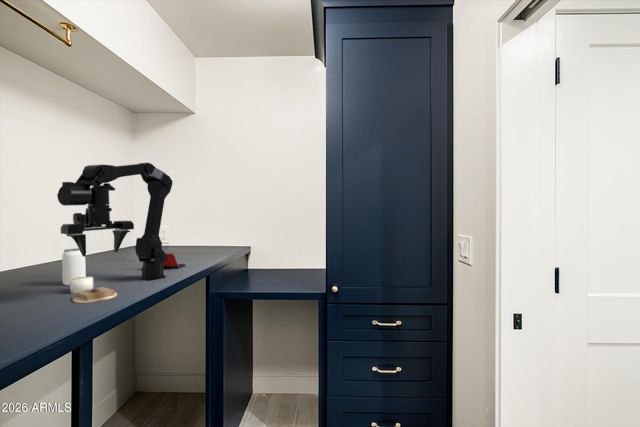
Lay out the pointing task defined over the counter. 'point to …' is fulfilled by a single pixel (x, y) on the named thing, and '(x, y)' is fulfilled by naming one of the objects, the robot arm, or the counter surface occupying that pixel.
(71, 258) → the can
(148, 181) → the robot arm
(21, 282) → the counter surface
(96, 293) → the lid
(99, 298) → the disc
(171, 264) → the red cap
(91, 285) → the white short cylinder
